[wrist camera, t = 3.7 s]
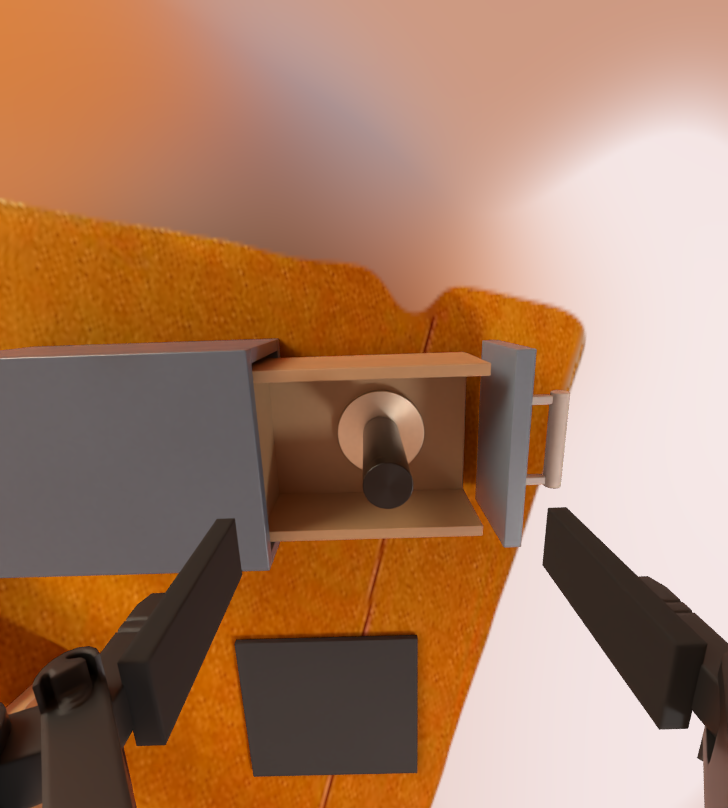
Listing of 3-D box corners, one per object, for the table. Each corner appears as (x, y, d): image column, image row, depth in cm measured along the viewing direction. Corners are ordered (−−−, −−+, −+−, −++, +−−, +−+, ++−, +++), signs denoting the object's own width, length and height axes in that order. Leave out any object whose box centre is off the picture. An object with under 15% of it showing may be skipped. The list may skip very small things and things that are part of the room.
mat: (416, 634, 37) (417, 639, 37) (416, 767, 42) (417, 772, 41) (235, 639, 37) (234, 643, 37) (254, 771, 42) (253, 776, 41)
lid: (423, 388, 29) (451, 425, 20) (423, 469, 31) (448, 539, 21) (335, 390, 29) (322, 429, 20) (340, 472, 31) (329, 542, 21)
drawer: (543, 338, 29) (597, 346, 23) (530, 497, 33) (573, 545, 26) (259, 347, 29) (228, 359, 23) (275, 504, 33) (252, 554, 26)
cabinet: (279, 338, 30) (245, 350, 22) (293, 504, 34) (269, 571, 25) (34, 346, 30) (-95, 361, 22) (74, 511, 34) (-23, 579, 25)
